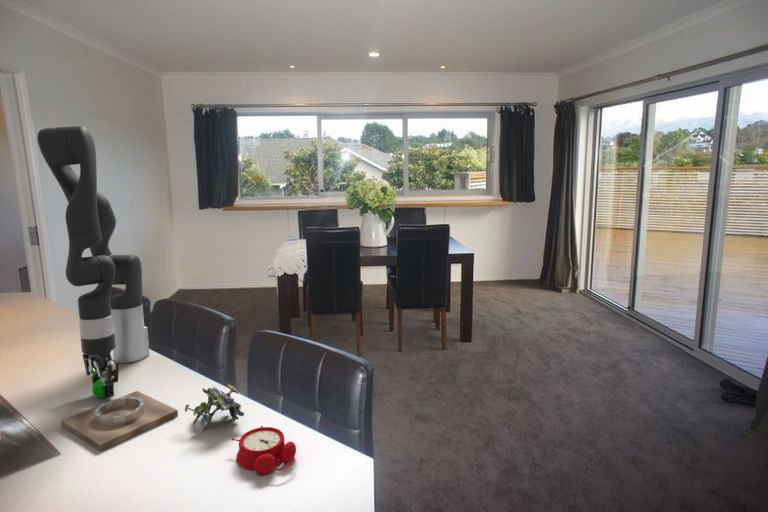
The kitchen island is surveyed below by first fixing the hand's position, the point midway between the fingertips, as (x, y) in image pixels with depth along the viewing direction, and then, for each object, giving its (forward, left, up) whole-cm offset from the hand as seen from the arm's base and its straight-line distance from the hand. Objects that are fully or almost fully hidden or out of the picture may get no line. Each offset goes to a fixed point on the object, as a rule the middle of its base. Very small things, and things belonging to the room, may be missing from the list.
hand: (103, 394), depth 124 cm
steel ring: (+4, +16, +1) cm, 17 cm away
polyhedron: (0, 0, -1) cm, 1 cm away
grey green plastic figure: (-8, +36, -1) cm, 37 cm away
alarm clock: (-5, +56, -1) cm, 56 cm away
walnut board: (+4, +16, -1) cm, 17 cm away
